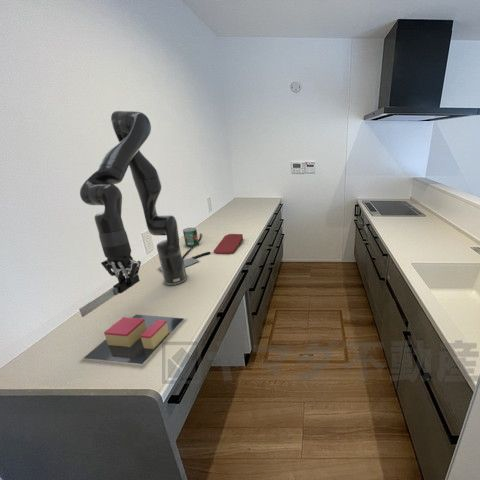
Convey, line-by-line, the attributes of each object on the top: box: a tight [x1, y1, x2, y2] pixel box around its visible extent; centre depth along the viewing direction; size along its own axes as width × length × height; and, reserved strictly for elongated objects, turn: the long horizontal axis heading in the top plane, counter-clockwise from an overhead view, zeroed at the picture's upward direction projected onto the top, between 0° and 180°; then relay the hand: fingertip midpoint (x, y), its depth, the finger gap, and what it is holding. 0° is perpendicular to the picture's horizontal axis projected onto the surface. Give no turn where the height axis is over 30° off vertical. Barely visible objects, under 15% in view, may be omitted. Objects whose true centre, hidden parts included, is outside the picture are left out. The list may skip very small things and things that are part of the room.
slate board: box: [83, 314, 184, 365], centre depth 92 cm, size 22×20×1 cm
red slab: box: [213, 233, 244, 255], centre depth 171 cm, size 12×5×25 cm
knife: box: [79, 273, 141, 318], centre depth 90 cm, size 22×2×3 cm, turn 175°
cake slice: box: [141, 320, 169, 349], centre depth 89 cm, size 8×4×5 cm, turn 174°
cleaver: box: [158, 251, 211, 272], centre depth 148 cm, size 29×1×10 cm
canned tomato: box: [182, 227, 200, 249], centre depth 170 cm, size 8×8×11 cm
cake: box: [103, 316, 147, 347], centre depth 90 cm, size 8×8×5 cm
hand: (127, 285), depth 96 cm, fingers closed on knife, 2 cm apart
